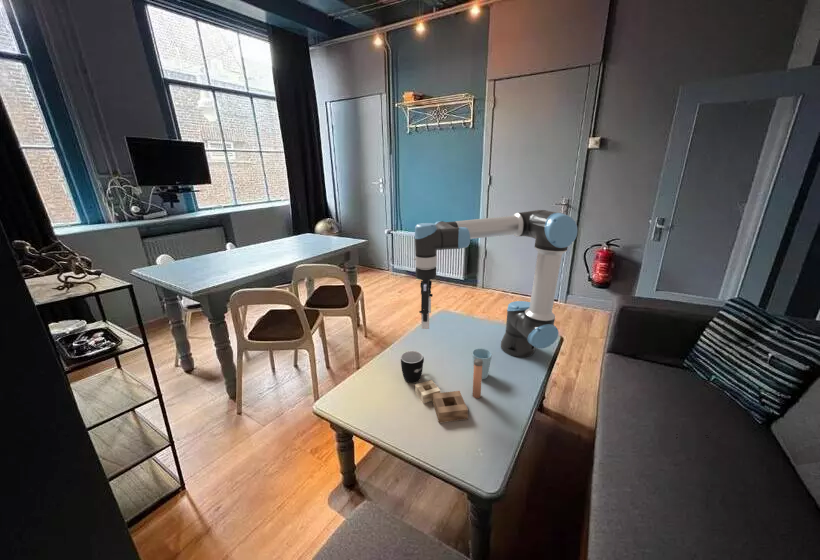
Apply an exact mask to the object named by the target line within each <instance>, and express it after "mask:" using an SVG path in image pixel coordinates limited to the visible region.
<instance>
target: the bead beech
mask: <svg viewBox="0 0 820 560" xmlns="http://www.w3.org/2000/svg"><path fill="white" fill-rule="evenodd" d="M414 386H415V389H414V390H415V394H416V395H417V397H418V399H420V401H421V403H422V404H425V403H426V404H427V403H429V402H433V394H435V393H441V389H440V388H439V387H438V385H436V383H435V382H434V381H433V379H430V380H427V381H423V382H420V383H416V384H415V385H414Z"/></svg>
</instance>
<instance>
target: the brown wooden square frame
mask: <svg viewBox="0 0 820 560" xmlns="http://www.w3.org/2000/svg"><path fill="white" fill-rule="evenodd" d="M432 406H433V409H434V411H435V415H436V419H437V422H438V423H447V422H448V423H449V422H457V421H463V420H468V416H469V415H468V414H469V409H468V406H467V404H466V402H465V400H464V398H463V396H462V394H461V391H460V390H455V391H446V392H445V391H444V392H440V393H435V394H433V401H432Z"/></svg>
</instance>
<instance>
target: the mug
mask: <svg viewBox="0 0 820 560" xmlns="http://www.w3.org/2000/svg"><path fill="white" fill-rule="evenodd" d="M424 361H425V358H424V355H423V353H421V352H420V351H417V350H410V351H405V352H403V353H401V355H400V366H401V372H402V377H403V379H404V381H406V382H407V383H410V384H414V383H417V382H419V381H420V379H421V378H422V374H423V366H424V363H425V362H424Z"/></svg>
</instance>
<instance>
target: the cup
mask: <svg viewBox="0 0 820 560" xmlns="http://www.w3.org/2000/svg"><path fill="white" fill-rule="evenodd" d="M471 354H472V366H473V368H472V369H474V360H475V359H481V360H482V361H483V365H482V380H485V379H487V378H488V375H489V372H490V371H489V370H490V366H491V360H492V355H493V353H492V351H490V350H489V349H486V348H482V347H481V348H480V347H479V348H475V349H473V350H472V353H471Z"/></svg>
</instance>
